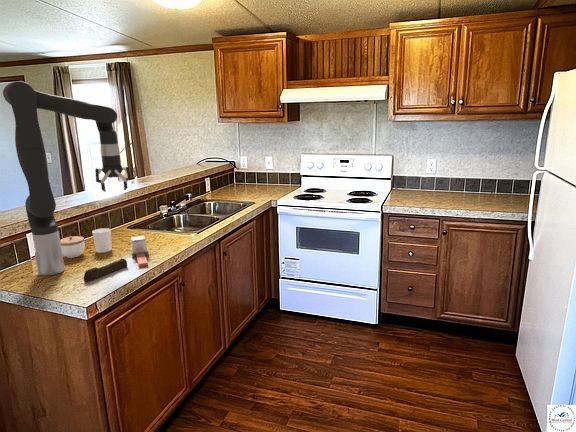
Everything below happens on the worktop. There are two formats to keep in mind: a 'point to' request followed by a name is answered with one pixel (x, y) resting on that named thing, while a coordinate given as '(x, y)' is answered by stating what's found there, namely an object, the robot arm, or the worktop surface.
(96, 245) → the white cup
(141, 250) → the white cube
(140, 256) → the red grey toy vehicle
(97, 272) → the hand tool
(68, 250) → the lidded jar
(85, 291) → the worktop surface
